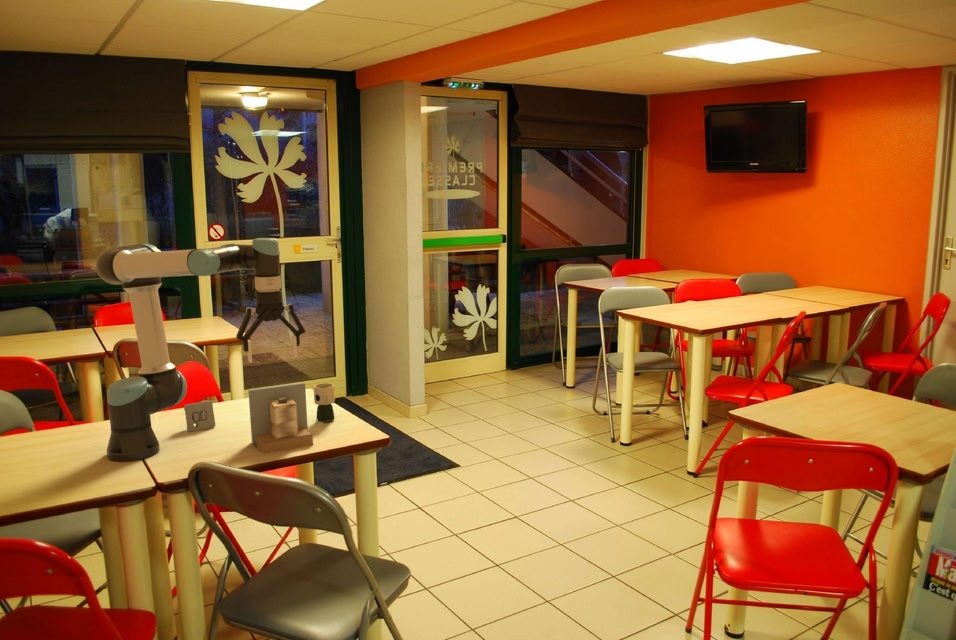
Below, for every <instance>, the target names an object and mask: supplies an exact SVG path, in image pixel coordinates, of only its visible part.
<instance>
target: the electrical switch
mask: <svg viewBox="0 0 956 640" xmlns="http://www.w3.org/2000/svg"><path fill="white" fill-rule="evenodd" d="M183 409H184V410H183V411H184V413H185V421H186V430H187V432H189V433H191V432H195V431H201V430H202V431H203V430H208V429H213V428H215V426H216V421H215V420H216V419H215V411H214V405H213V401H210V400H207V401H202V402H196V403H195V402H194V403H188V404H185V405H184V406H183ZM194 424H195V425H194Z"/></svg>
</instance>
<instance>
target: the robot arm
mask: <svg viewBox="0 0 956 640" xmlns="http://www.w3.org/2000/svg"><path fill="white" fill-rule="evenodd" d="M251 243H252V244H239V243H238V244H237V243H236V244H235V243H227V244H225V243H224V244H222V245H220V246H218V247H217V246H216V247H209V248H207V247H206V248H196V249H195V248H193V249H180V250H179V249H178V250H177V249H176V250H164V251H163V250H161V249H158V248H157V246H155V245H153V244H150V243H137V244H129V245H122V246H114V247H113V246H112V247H108V248H106V249H105V250H103V251H101V252H100V253H99V254H98V256H97V258H96V261H95V270H96V274H97V275H98V276H99V278H100V279H101V280H102V281H104V282H105V283H108V284H110V285H122V290H124V291H125V292H127V293H128V294H129V295H128V296H129V301H130V306H131V311H132V318H133V324H134V328H135V329H134V330H135V335H136V341H137V345H138V350H139V352H138V353H139V357H140V362H141V367H140V369H139V370H138V371H137V375H138V376H129V377H124V378H121V379H118V380H116V381H114V382H112V383H111V384H109V386H108V387H107V390H106V391H107V392H106V393H107V394H106V395H107V398H106V401H107V408H108V415H109V425H110V436H109V439H108V444H107V448H106V455H107V456H106V457H107V459H108V460H110V461H114V462H133V461H138V460H142V459H146V458H149V457H152V456H154V455H156V454H157V453H158V452H159V451H160V442H159V440H158V438H157V435H156V434H155V431H154V430H153V428H152V420H151V419H152V417H151V415H153V414H156V413H158V412H161V411H164V410H166V409H171V408H173V407H174V406H175V405H177V404H179V403H181V402H182V401H183V400H184V398H185V396H186V394H187V389H188V385H187V380H186V378H185V376H184V375H183V374H182V372H180V371H179V370H177V366H176V365H175V364H174V363H172V362H171V359H170V355H169V348H168V341H167V337H166V331H165V326H164V325H165V324H164V319H163V318H164V317H163V313H162V307H161V301H160V295H159V288H160V287H161V286H162V285H163V283H162V278H167V277H169V278H170V277H184V276H185V277H186V276H196V277H197V276H198V277H208V276H212V275H217V274H220V273H221V274H222V273H227V272H233V271H238V270H241V271H242V270H245V271H246V270H247V271H248V270H249V271H253V272H254V286H255V287H254V288H255V290H256V291H255V302H256V303H255V304H256V306H255V307H254V308H253V307H248V306H246V307H245V311H244V312H245V315H244V317H243V319H242V321H241V324H240V326H239V328H238V331H237V333H236V336H235V337H236V339H237V340H239V341H242V344H243V345H242V347H243V351H244V352H245V353H246V356H247V362H248V363H253V355H252V352H253V351H252V342H251V340H250V338H251V337H252V336H253V334H254V333H255V331H256V330H257V329H258V328H259V326H260V325H261V324H262V323H263V321H264V322H270V321H273V322H275V321H277V320H280V322H282V324H284V325H285V327H287V329H288V330H290V331H291V332H292V333H293V334H292V335H291V348H292V350H291V351H292V357H294V358H298V347H300V346H301V343H300V342H301V340H300V336H301V335H302V334H305V333H306V330H305V327H304V326H303V324H302V323H301V321H300V320H299V318H298V316H297V314H296V312H295V309H294V305H293V304H291V303H288V304H283V296H282V295H283V293H282V290H281V288H282V281H281V280H282V279H281V278H282V277H281V265H280V264H281V263H280V262H281V261H280V260H281V259H280V257H281V256H280V254H281V253H280V246H279V240H278V239H276V238H275V237H258V238H253V240H252V242H251ZM284 310H285V311H286V312H287V313H289V316H290V317H291V320H292V321H293V322H294V324H295V325H296V327H297V329H296V328H295V327H294V326H293V325H292V324H291V323H290V321H288V320H287V319H286V318H285V317H284V316H283V315H282V314H283V312H284ZM254 313H256V314H257V317H256V318H255V320H254V321H253V323H252V324H251V325H250V327H249V328H248V329H247V327H248V325H249V322H250V321H251V317H252V316H253V315H254ZM246 329H247V330H246ZM245 331H246V332H245Z"/></svg>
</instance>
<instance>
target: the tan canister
mask: <svg viewBox="0 0 956 640" xmlns="http://www.w3.org/2000/svg"><path fill="white" fill-rule="evenodd" d="M269 402H270V418H271V433H272V435H273V436H274V437H275V439H281V438H287V437H293V436H298V424H297V406H296V403H295V402H294V401H293V400H292V399H291V398H288V399H287V398H286V397H285V398H278V400H273V401H269Z"/></svg>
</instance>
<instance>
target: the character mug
mask: <svg viewBox="0 0 956 640" xmlns="http://www.w3.org/2000/svg"><path fill="white" fill-rule="evenodd" d="M335 398H336V397H335V384H333V383H331V382H322V383H316V384H314V385H313V401H314V404H315V405H317V407H316V421H317V422H320V423H328V422H330V421H334V420H335V419H336V417H335V411H334V407H333V405H332V404H334V403H335V401H336V399H335Z"/></svg>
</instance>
